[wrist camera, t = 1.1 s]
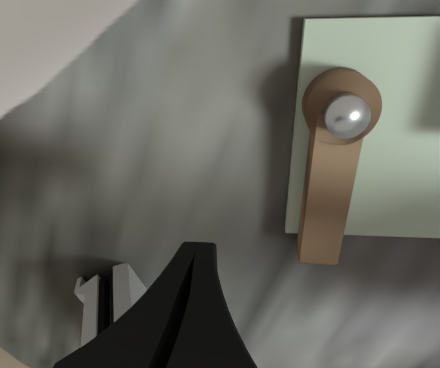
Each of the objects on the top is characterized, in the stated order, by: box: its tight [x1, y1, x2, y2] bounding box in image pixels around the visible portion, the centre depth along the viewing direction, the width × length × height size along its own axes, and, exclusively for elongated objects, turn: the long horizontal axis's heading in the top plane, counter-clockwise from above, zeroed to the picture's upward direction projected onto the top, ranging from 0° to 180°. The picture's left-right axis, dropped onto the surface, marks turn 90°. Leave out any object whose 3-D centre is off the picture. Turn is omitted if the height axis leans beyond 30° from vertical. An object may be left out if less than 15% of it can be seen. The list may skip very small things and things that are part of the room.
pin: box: [323, 92, 371, 139], centre depth 16 cm, size 2×2×1 cm
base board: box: [285, 16, 440, 238], centre depth 19 cm, size 14×13×1 cm
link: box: [297, 67, 382, 265], centre depth 19 cm, size 12×4×2 cm, turn 2°
